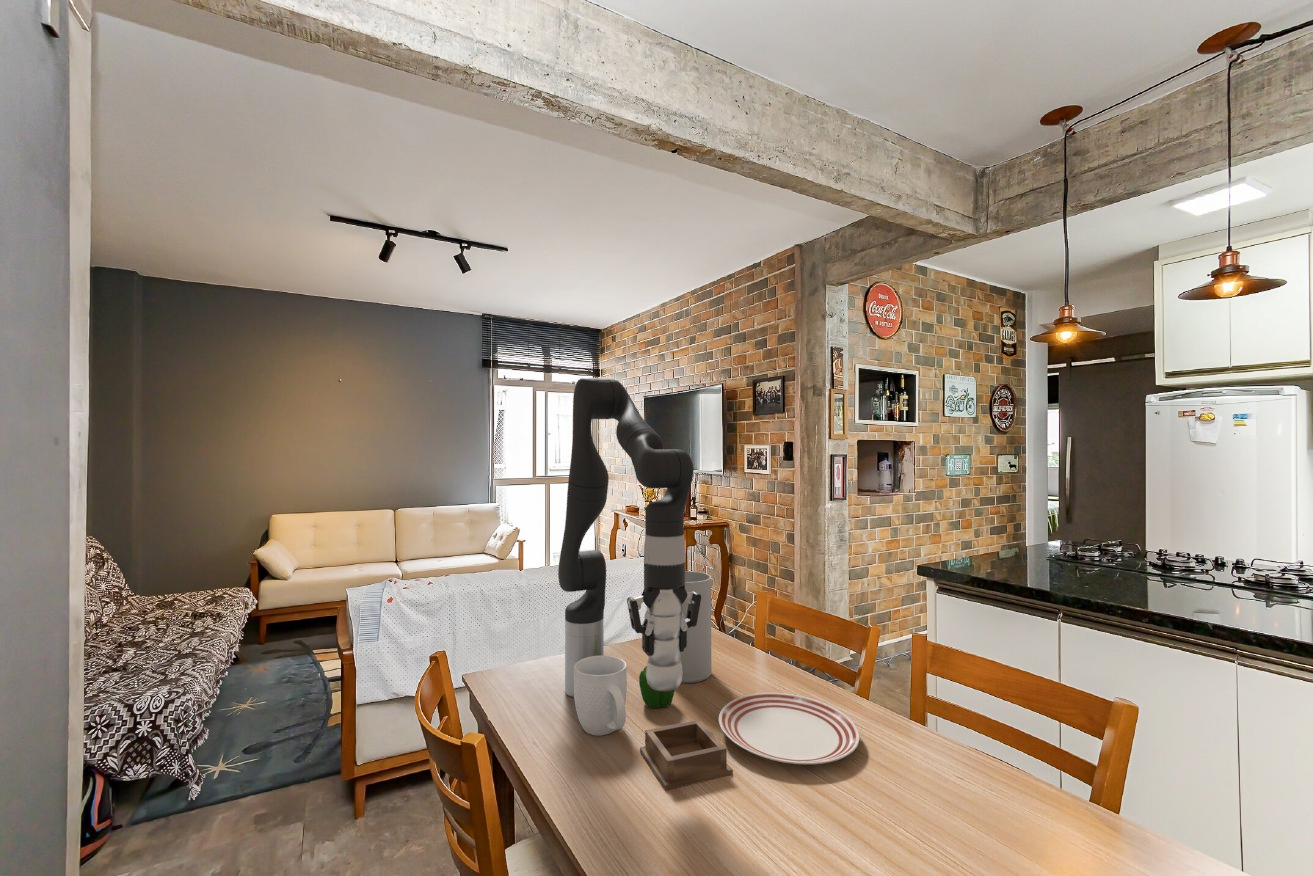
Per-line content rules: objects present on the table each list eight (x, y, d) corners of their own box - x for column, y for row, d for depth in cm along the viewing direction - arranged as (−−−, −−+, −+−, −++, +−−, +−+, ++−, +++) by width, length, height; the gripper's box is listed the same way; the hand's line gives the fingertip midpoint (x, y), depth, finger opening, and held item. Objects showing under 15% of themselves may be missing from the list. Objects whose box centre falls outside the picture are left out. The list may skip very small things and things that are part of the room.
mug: (646, 740, 112) (646, 674, 112) (597, 756, 106) (597, 687, 106) (610, 710, 124) (610, 651, 125) (564, 724, 118) (564, 661, 119)
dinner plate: (882, 736, 114) (881, 719, 114) (818, 798, 94) (818, 778, 94) (765, 695, 132) (765, 681, 132) (691, 739, 112) (691, 723, 112)
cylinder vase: (713, 684, 138) (713, 582, 139) (662, 684, 138) (662, 582, 139) (709, 664, 151) (709, 571, 151) (662, 664, 151) (662, 571, 151)
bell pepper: (669, 714, 122) (669, 668, 123) (634, 709, 125) (634, 664, 125) (680, 698, 130) (680, 655, 131) (647, 693, 133) (647, 651, 133)
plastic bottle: (645, 681, 105) (644, 573, 105) (681, 680, 105) (680, 573, 105) (646, 696, 98) (646, 582, 99) (685, 695, 99) (684, 581, 99)
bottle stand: (639, 751, 108) (639, 729, 108) (701, 738, 112) (701, 717, 112) (665, 790, 96) (665, 764, 96) (732, 774, 100) (732, 749, 100)
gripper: (692, 552, 108) (692, 641, 108) (620, 557, 103) (620, 650, 103) (709, 560, 101) (709, 655, 101) (632, 566, 96) (632, 665, 96)
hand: (664, 652), depth 102 cm, fingers closed on plastic bottle, 5 cm apart
